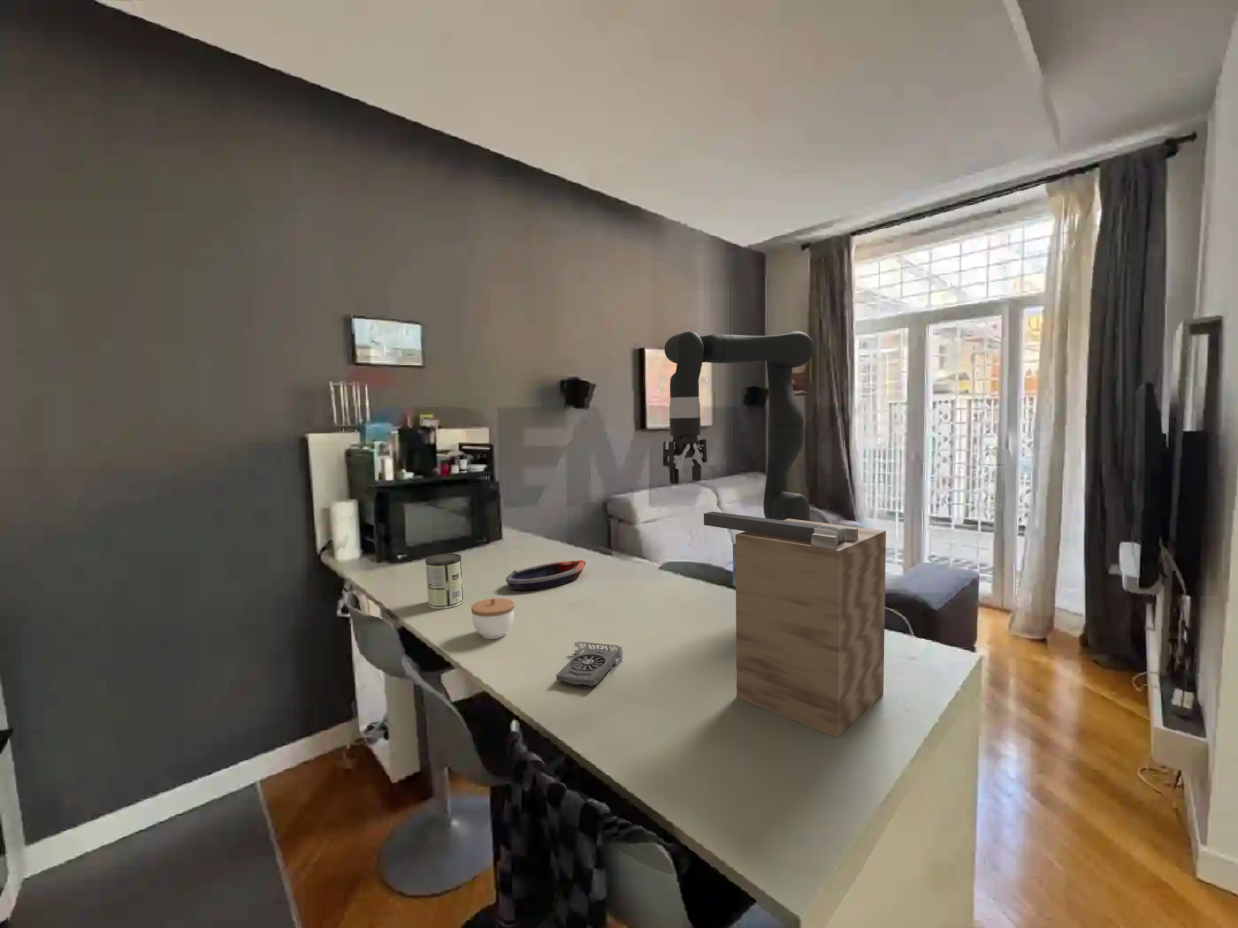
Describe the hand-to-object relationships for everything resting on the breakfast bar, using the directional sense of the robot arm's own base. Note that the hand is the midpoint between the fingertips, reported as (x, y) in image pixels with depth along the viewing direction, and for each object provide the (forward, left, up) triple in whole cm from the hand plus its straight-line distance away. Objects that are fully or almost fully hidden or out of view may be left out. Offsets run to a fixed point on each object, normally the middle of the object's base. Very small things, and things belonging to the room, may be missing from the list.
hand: (685, 482), depth 137 cm
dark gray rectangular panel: (+14, +31, -6) cm, 35 cm away
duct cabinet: (+9, +37, -38) cm, 54 cm away
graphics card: (+31, -3, -39) cm, 50 cm away
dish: (-3, -62, -39) cm, 73 cm away
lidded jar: (+34, -36, -38) cm, 63 cm away
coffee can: (+31, -68, -38) cm, 84 cm away
